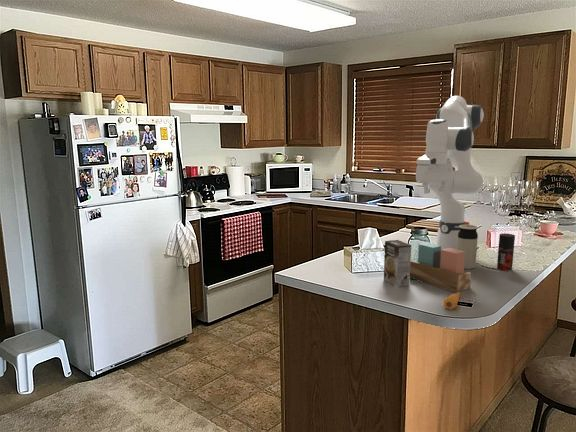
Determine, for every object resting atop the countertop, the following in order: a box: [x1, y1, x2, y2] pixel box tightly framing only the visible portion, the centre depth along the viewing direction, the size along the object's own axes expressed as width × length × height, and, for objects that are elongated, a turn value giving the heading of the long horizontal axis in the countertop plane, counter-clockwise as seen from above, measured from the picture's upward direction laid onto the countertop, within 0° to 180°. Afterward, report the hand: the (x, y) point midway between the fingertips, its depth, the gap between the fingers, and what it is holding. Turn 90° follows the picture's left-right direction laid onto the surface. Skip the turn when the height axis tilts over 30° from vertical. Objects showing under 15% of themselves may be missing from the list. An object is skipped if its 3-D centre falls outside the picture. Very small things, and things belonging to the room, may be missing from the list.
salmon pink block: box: [440, 248, 465, 275], centre depth 179 cm, size 5×8×12 cm, turn 36°
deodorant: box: [496, 232, 516, 272], centre depth 199 cm, size 6×6×15 cm
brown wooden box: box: [409, 260, 472, 294], centre depth 183 cm, size 9×22×7 cm, turn 36°
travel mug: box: [457, 224, 479, 270], centre depth 202 cm, size 8×8×18 cm
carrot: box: [443, 291, 461, 311], centre depth 165 cm, size 20×4×4 cm, turn 150°
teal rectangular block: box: [417, 242, 441, 268], centre depth 187 cm, size 5×8×12 cm, turn 36°
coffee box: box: [383, 239, 412, 287], centre depth 183 cm, size 9×6×16 cm
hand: (434, 192), depth 196 cm, fingers open, 8 cm apart
